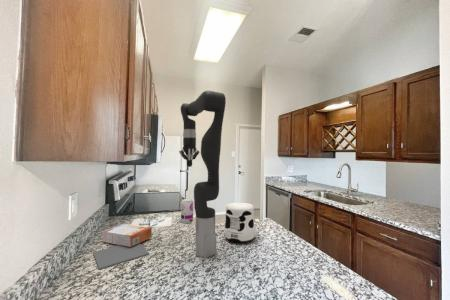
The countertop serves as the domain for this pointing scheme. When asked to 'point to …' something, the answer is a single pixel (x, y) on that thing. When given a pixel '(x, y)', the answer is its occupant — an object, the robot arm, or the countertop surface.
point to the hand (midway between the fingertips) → (189, 166)
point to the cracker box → (127, 235)
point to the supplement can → (187, 211)
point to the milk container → (239, 222)
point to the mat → (118, 255)
